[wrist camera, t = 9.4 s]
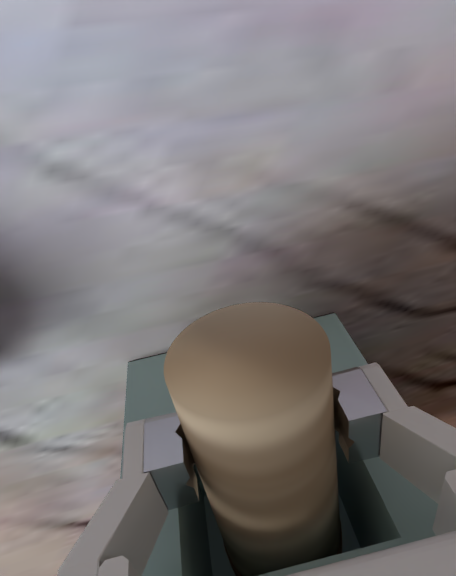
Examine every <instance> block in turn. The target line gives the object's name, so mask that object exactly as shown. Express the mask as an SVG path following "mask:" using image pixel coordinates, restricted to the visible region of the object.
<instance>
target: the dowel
mask: <svg viewBox="0 0 456 576" xmlns="http://www.w3.org/2000/svg"><path fill="white" fill-rule="evenodd" d="M164 378H165V382H166V385H167V388H168V390H169V393H170V396H171V398H172V401H173V404H174V407H175V409H176V412H177V415H178V418H179V420H180V423H181V426H182V429H183V431H184V434H185V437H186V440H187V442H188V445H189V448H190V451H191V453H192V456H193V459H194V461H195V464H196V467H197V470H198V472H199V475H200V478H201V481H202V483H203V486H204V489H205V492H206V494H207V497H208V500H209V503H210V505H211V508H212V511H213V514H214V516H215V519H216V522H217V524H218V527H219V530H220V533H221V535H222V538H223V543H224V547H225V551H226V553H227V556H228V559H229V562H230V564H231V567H232V569H233V571H234V573H235V575H236V576H257V575H261V574H265V573H269V572H273V571H276V570H280V569H284V568H288V567H292V566H295V565H299V564H303V563H307V562H310V561H314V560H318V559H322V558H326V557H329V556H333V555H337V554H341V553H342V528H341V521H340V517H339V498H338V479H337V459H336V440H335V421H334V402H333V383H332V364H331V349H330V342H329V339H328V336H327V334H326V333H325V331H324V329H323V328H322V327H321V325H320V324H319V323H318V322H317V321H316V320H315V319H313V318H312V317H311V316H309V315H308V314H306V313H304V312H302V311H300V310H298V309H295V308H293V307H290V306H286V305H282V304H276V303H267V302H253V303H243V304H237V305H232V306H228V307H225V308H221V309H218V310H216V311H213V312H211V313H209V314H207V315H205V316H203V317H201V318H199V319H198V320H196V321H194V322H193V323H192V324H190V325H189V326H188V327H187V328H185V329H184V330H183V331H182V332H181V333H180V334H179V335H178V336H177V337H176V339H175V340H174V341H173V343H172V344H171V346H170V348H169V350H168V352H167V355H166V357H165V362H164Z"/></svg>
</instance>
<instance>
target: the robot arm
mask: <svg viewBox="0 0 456 576" xmlns="http://www.w3.org/2000/svg"><path fill="white" fill-rule="evenodd" d="M332 383H333V402H334V421H335V430H336V431H338V432H339V444H340V446H341V448H342V450H343V452H344V454H345V456H346V459H347V461H348V463H353V462H358V461H362V460H366V459H371V458H375V457H380V459H381V460H382V461H384V462H385V463H386V464H388V465H389V466H390V467H391V468H393V469H394V470H395V471H396V472H398V473H399V474H400V475H402V476H403V477H404V478H405V479H407V480H408V481H409V482H411V483H412V484H413V485H414V486H416V487H417V488H418V489H420V490H421V491H422V492H423V493H425V494H426V495H427V496H429V497H430V498H431V499H432V500H434V501H435V502H436V503H438V507H437V511H436V515H435V519H434V524H433V528H432V530H433V531H434V533H435V535H436V536H433V537H429V538H426V539H422V540H418V541H414V542H410V543H407V544H403V545H399V546H395V547H392V548H388V549H384V550H380V551H376V552H373V553H369V554H365V555H361V556H358V557H354V558H350V559H346V560H342V561H339V562H335V563H331V564H327V565H324V566H320V567H316V568H312V569H309V570H305V571H301V572H297V573H293V574H290V575H286V576H456V428H454V427H452V426H451V425H449V424H447V423H445V422H443V421H441V420H439V419H437V418H436V417H434V416H432V415H430V414H428V413H426V412H424V411H422V410H420V409H419V408H417V407H415V406H410V407H408V406H407V404H406V403H405V402H404V400H403V399H402V397H401V396H400V394H399V393H398V391H397V390H396V388H395V387H394V386H393V384H392V383H391V381H390V380H389V378H388V377H387V375H386V374H385V372H384V371H383V370H382V368H381V367H380V365H379V364H377V363H376V362H375V363H371V364H367V365H363V366H359V367H354V368H350V369H346V370H342V371H338V372H334V373H332ZM194 464H195V461H194V459H193V456H192V453H191V451H190V448H189V445H188V442H187V440H186V437H185V434H184V431H183V429H182V426H181V423H180V420H179V418H178V415H177V412H174V413H169V414H164V415H160V416H155V417H151V418H146V419H142V420H138V421H134V422H129V423H127V425H126V428H125V437H124V453H123V469H122V479H119V480H116V482H115V483H114V485H113V486H112V488H111V489H110V491H109V492H108V494H107V496H106V497H105V499H104V500H103V502H102V503H101V505H100V506H99V508H98V509H97V511H96V513H95V514H94V516H93V517H92V519H91V520H90V522H89V523H88V525H87V526H86V528H85V530H84V531H83V533H82V534H81V536H80V537H79V539H78V540H77V542H76V543H75V545H74V547H73V548H72V550H71V551H70V553H69V554H68V556H67V557H66V559H65V560H64V562H63V564H62V565H61V567H60V568H59V570H58V574H57V576H142V574H143V571H144V569H145V567H146V564H147V562H148V560H149V557H150V555H151V553H152V550H153V548H154V546H155V543H156V541H157V539H158V536H159V534H160V532H161V529H162V527H163V525H164V522H165V520H166V518H167V515H168V513H169V512H168V510H172V509H175V508H179V507H182V506H186V505H189V504H193V503H196V502H199V494H198V484H197V477H196V474H195V471H194V469H193V466H194Z"/></svg>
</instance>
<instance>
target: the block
mask: <svg viewBox="0 0 456 576" xmlns="http://www.w3.org/2000/svg"><path fill="white" fill-rule="evenodd" d="M313 319H315V320H316V321H317V322H318V323H319V324H320V325H321V327H322V328H323V329H324V331H325V333H326V334H327V336H328V339H329V342H330V349H331V364H332V373H334V372H338V371H342V370H346V369H350V368H354V367H359V366H363V365H367V364H368V363H367V362H366V360H365V359H364V357H363V356H362V354H361V352H360V351H359V349H358V348H357V346H356V345H355V343H354V342H353V340H352V338H351V337H350V335H349V334H348V332H347V331H346V329H345V328H344V326H343V325H342V323H341V321H340V320H339V318H338V317H337V315H336V314H335V313H333V314H329V315H325V316H321V317H316V318H313ZM166 355H167V353H165V354H161V355H157V356H153V357H149V358H144V359H140V360H136V361H132V362H128V371H127V386H126V401H125V416H124V432H123V447H122V462H121V477H120V479H122V469H123V453H124V437H125V428H126V425H127V423H129V422H134V421H138V420H142V419H146V418H151V417H155V416H160V415H164V414H169V413H174V412H176V409H175V407H174V404H173V401H172V398H171V396H170V393H169V390H168V388H167V385H166V382H165V378H164V362H165V357H166ZM335 440H336V459H337V479H338V498H339V517H340V521H341V528H342V553H341V554H337V555H333V556H329V557H326V558H322V559H318V560H314V561H310V562H307V563H303V564H299V565H295V566H292V567H288V568H284V569H280V570H276V571H273V572H269V573H265V574H261V575H257V576H286V575H290V574H293V573H297V572H301V571H305V570H309V569H312V568H316V567H320V566H324V565H327V564H331V563H335V562H339V561H342V560H346V559H350V558H354V557H358V556H361V555H365V554H369V553H373V552H376V551H380V550H384V549H388V548H392V547H395V546H399V545H403V544H407V543H410V542H414V541H418V540H422V539H426V538H429V537H433V536H436V535H435V533H434V531H433V530H432V528H433V524H434V519H435V515H436V511H437V507H438V503H436V502H435V501H434V500H432V499H431V498H430V497H429V496H427V495H426V494H425V493H423V492H422V491H421V490H420V489H418V488H417V487H416V486H414V485H413V484H412V483H411V482H409V481H408V480H407V479H405V478H404V477H403V476H402V475H400V474H399V473H398V472H396V471H395V470H394V469H393V468H391V467H390V466H389V465H388V464H386V463H385V462H384V461H382V460H381V459H380V457H375V458H371V459H366V460H362V461H358V462H353V463H348V461H347V459H346V456H345V454H344V452H343V450H342V448H341V446H340V444H339V432H338V431H336V430H335ZM193 469H194V471H195V474H196V477H197V484H198V494H199V502H196V503H193V504H189V505H186V506H182V507H179V508H175V509H172V510H168V512H169V513H168V515H167V518H166V520H165V522H164V525H163V527H162V529H161V532H160V534H159V536H158V539H157V541H156V543H155V546H154V548H153V550H152V553H151V555H150V557H149V560H148V562H147V564H146V567H145V569H144V571H143V574H142V576H236V575H235V573H234V571H233V569H232V567H231V564H230V562H229V559H228V556H227V553H226V551H225V547H224V543H223V538H222V535H221V533H220V530H219V527H218V524H217V522H216V519H215V516H214V514H213V511H212V508H211V505H210V503H209V500H208V497H207V494H206V492H205V489H204V486H203V483H202V481H201V478H200V475H199V472H198V470H197V467H196V464H194V466H193Z"/></svg>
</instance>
